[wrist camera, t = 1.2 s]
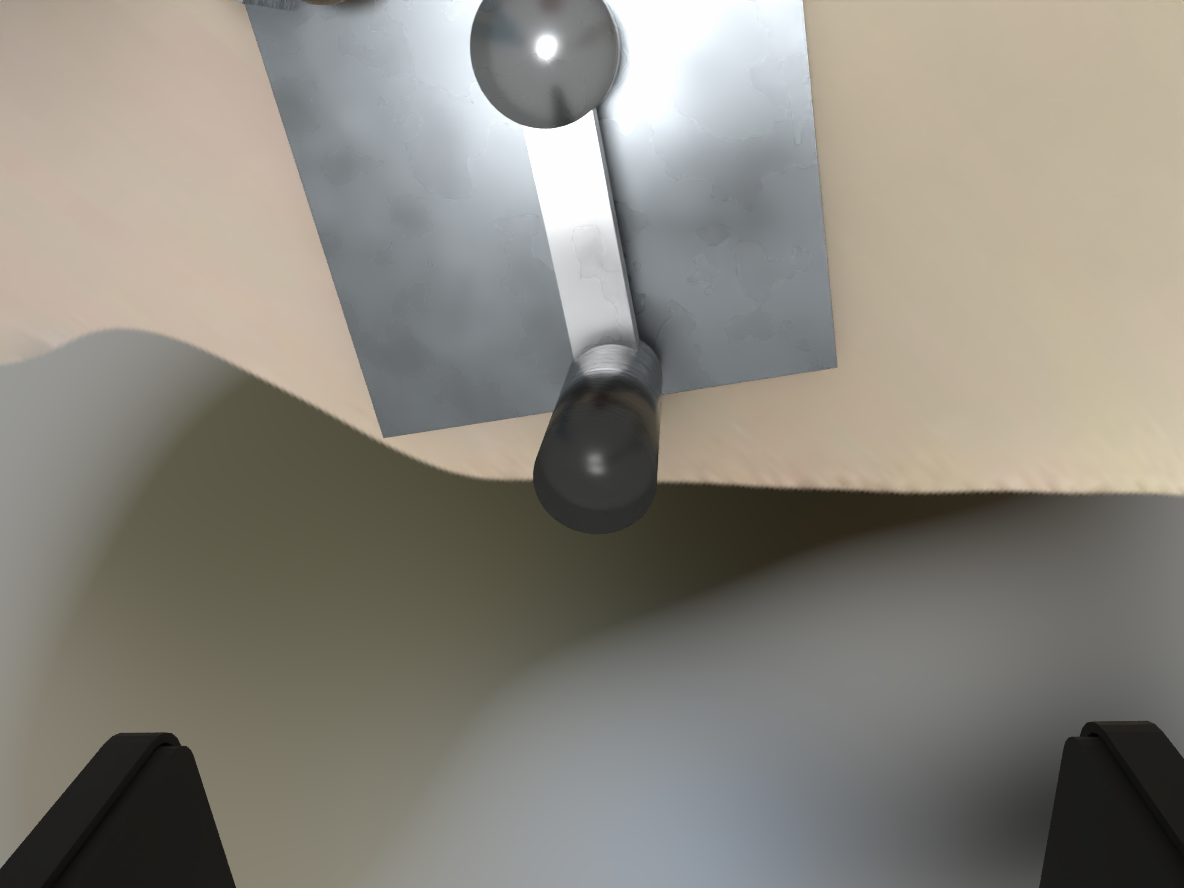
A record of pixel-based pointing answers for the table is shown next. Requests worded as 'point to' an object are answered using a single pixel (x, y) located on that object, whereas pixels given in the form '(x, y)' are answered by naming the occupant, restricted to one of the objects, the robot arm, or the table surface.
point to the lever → (578, 255)
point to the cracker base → (512, 208)
